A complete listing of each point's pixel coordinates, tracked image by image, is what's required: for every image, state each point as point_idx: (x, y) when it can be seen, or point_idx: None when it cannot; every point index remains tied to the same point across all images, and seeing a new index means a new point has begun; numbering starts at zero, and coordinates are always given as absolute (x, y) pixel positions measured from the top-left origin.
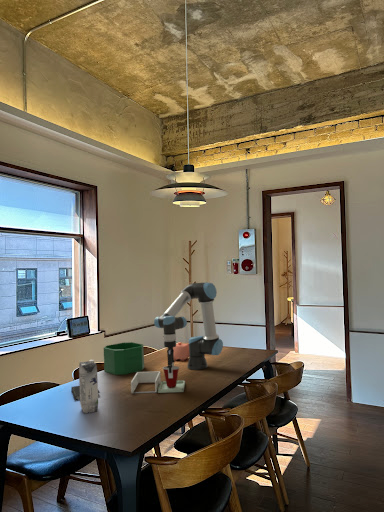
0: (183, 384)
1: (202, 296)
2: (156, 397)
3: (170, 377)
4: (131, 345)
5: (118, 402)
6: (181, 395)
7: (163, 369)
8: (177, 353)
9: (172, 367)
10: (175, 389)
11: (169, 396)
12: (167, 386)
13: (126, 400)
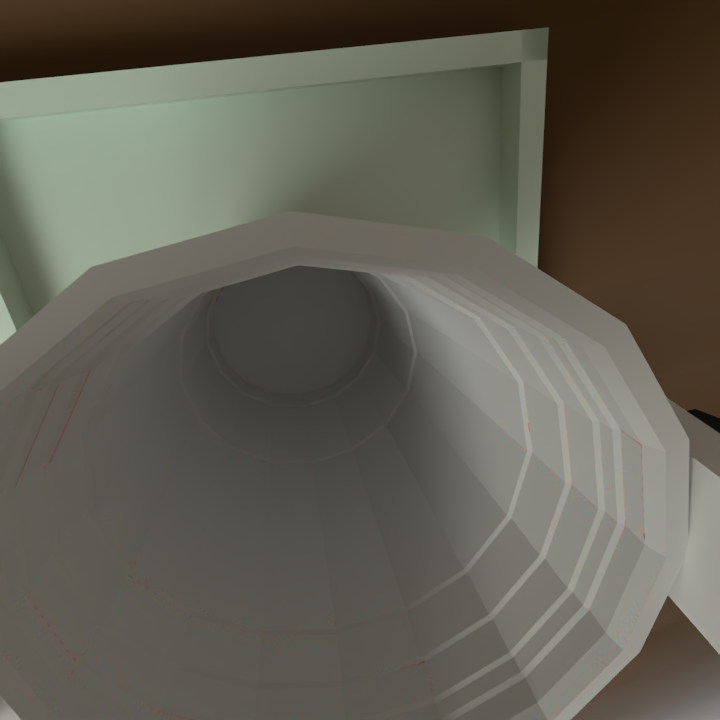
0: (247, 73)
1: None
2: (678, 403)
3: None
4: None
5: (714, 658)
6: (694, 49)
7: (451, 716)
8: None
9: (13, 582)
10: (536, 199)
11: (687, 247)
12: (338, 382)
13: (683, 628)
